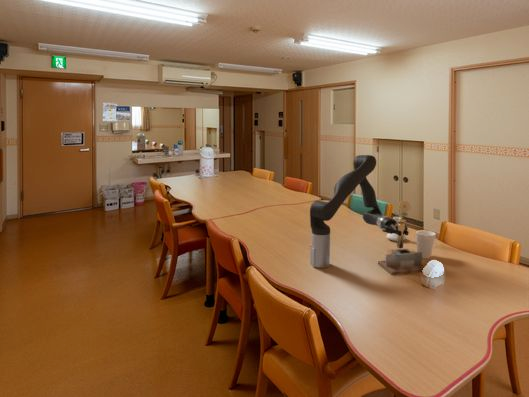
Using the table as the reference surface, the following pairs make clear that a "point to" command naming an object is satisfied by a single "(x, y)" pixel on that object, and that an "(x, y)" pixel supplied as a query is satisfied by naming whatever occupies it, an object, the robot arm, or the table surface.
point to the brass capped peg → (401, 228)
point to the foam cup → (425, 242)
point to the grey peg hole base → (397, 270)
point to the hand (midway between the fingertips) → (404, 233)
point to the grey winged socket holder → (403, 258)
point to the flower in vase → (403, 207)
